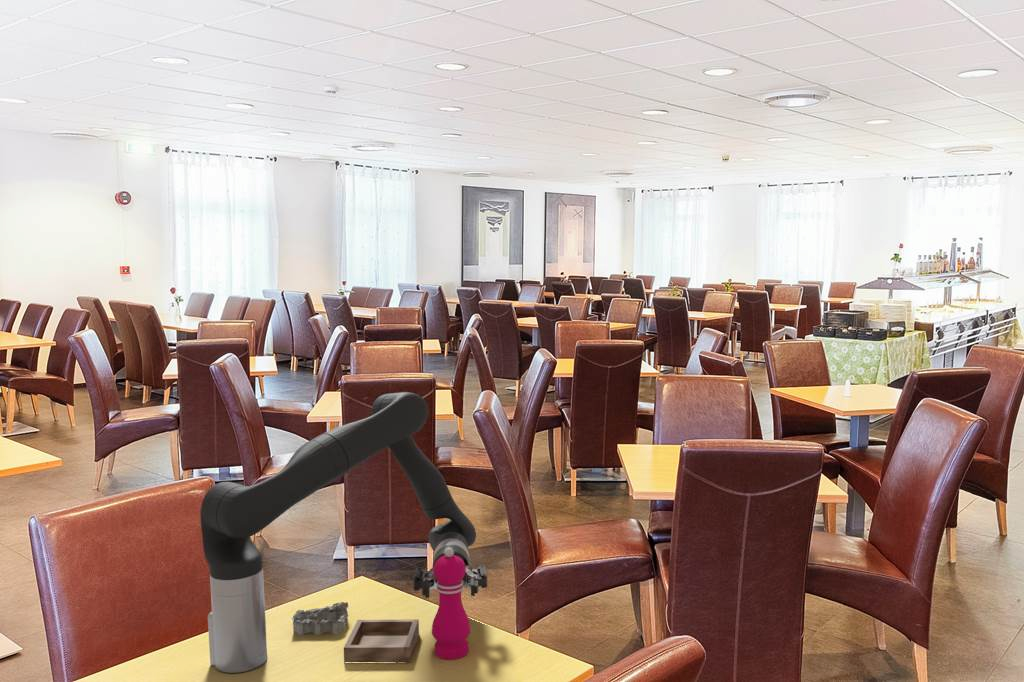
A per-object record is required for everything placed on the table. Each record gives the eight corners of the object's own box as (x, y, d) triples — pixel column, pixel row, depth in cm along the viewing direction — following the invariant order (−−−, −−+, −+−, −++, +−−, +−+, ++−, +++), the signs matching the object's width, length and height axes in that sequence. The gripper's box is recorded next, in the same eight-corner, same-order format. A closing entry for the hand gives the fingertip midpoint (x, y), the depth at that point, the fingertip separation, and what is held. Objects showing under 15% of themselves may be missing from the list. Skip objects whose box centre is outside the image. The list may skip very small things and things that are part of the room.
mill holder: (344, 663, 154) (343, 647, 154) (358, 634, 166) (357, 619, 166) (409, 663, 154) (409, 647, 153) (419, 634, 166) (418, 619, 165)
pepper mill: (465, 662, 154) (462, 555, 152) (427, 659, 155) (424, 553, 153) (475, 644, 161) (472, 542, 159) (438, 641, 162) (435, 540, 160)
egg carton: (351, 620, 173) (350, 601, 173) (343, 636, 166) (342, 616, 166) (299, 620, 174) (299, 601, 173) (289, 636, 166) (288, 616, 166)
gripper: (416, 545, 174) (411, 574, 158) (485, 542, 174) (487, 571, 158) (417, 580, 174) (412, 613, 158) (486, 578, 175) (488, 609, 159)
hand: (450, 592), depth 158 cm, fingers open, 8 cm apart
